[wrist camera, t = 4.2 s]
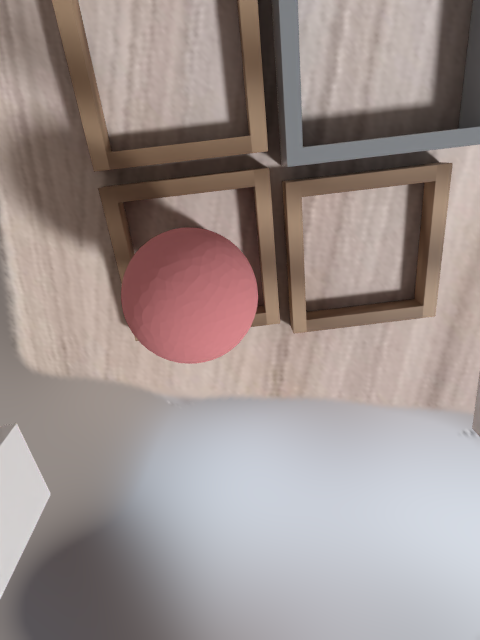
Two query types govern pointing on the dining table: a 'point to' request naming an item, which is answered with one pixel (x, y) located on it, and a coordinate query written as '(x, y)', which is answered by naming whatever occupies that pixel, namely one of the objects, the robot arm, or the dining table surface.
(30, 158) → the dining table surface
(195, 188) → the frame
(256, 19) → the frame
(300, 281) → the frame
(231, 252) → the light bulb
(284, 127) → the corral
